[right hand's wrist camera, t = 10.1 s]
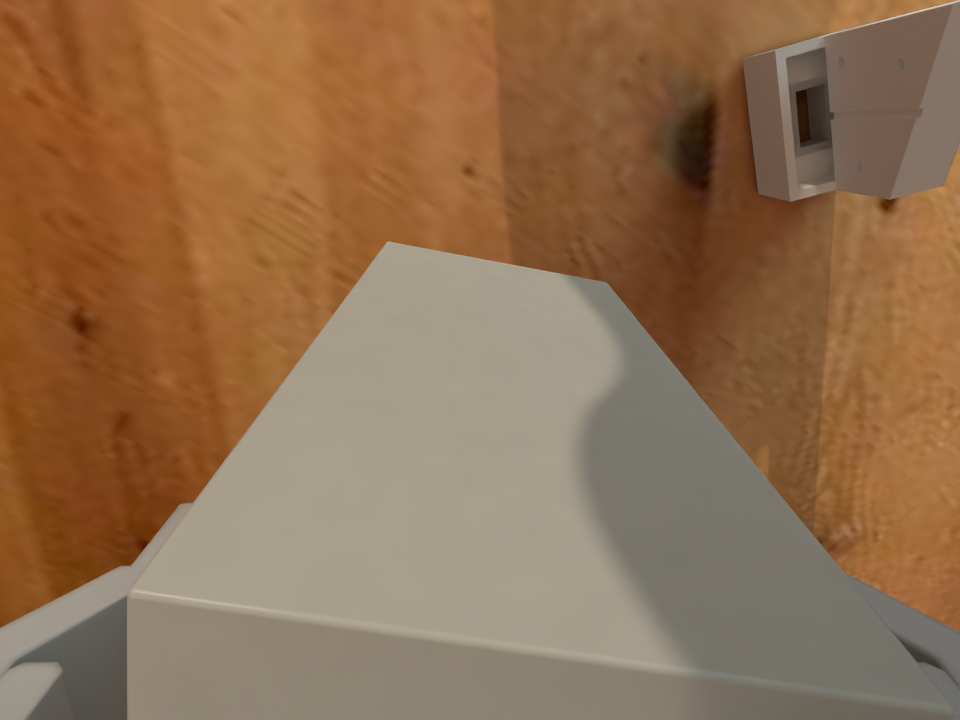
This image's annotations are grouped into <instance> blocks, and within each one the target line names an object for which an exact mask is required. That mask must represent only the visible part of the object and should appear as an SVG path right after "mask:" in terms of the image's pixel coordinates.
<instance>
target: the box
mask: <svg viewBox="0 0 960 720" xmlns="http://www.w3.org/2000/svg"><path fill="white" fill-rule="evenodd" d="M954 716H955V710H954V707H953V706H952V704H951V703H950V702H949V701H948V700H947V698H946V697H945V696H944V695H943V693H942V692H941V691H940V690H939V689H938V687H937V686H936V685H935V684H934V682H933V681H932V680H931V679H930V678H929V676H928V675H927V674H926V673H925V671H924V670H923V669H922V668H921V667H920V665H919V664H918V663H917V662H916V660H915V659H914V658H913V657H912V655H911V654H910V653H909V652H908V651H907V649H906V648H905V647H904V646H903V644H902V643H901V642H900V641H899V640H898V638H897V637H896V636H895V635H894V633H893V632H892V631H891V630H890V629H889V627H888V626H887V625H886V624H885V622H884V621H883V620H882V619H881V618H880V616H879V615H878V614H877V613H876V611H875V610H874V609H873V608H872V607H871V605H870V604H869V603H868V602H867V600H866V599H865V598H864V597H863V596H862V594H861V593H860V592H859V591H858V589H857V588H856V587H855V586H854V585H853V583H852V582H851V581H850V580H849V578H848V577H847V576H846V575H845V574H844V572H843V571H842V570H841V569H840V567H839V566H838V565H837V564H836V562H835V561H834V560H833V559H832V558H831V556H830V555H829V554H828V553H827V551H826V550H825V549H824V548H823V547H822V545H821V544H820V543H819V542H818V540H817V539H816V538H815V537H814V536H813V534H812V533H811V532H810V531H809V529H808V528H807V527H806V526H805V525H804V523H803V522H802V521H801V520H800V518H799V517H798V516H797V515H796V514H795V512H794V511H793V510H792V509H791V507H790V506H789V505H788V504H787V503H786V501H785V500H784V499H783V498H782V496H781V495H780V494H779V493H778V492H777V490H776V489H775V488H774V487H773V485H772V484H771V483H770V482H769V480H768V479H767V478H766V477H765V476H764V474H763V473H762V472H761V471H760V469H759V468H758V467H757V466H756V465H755V463H754V462H753V461H752V460H751V458H750V457H749V456H748V455H747V454H746V452H745V451H744V450H743V449H742V447H741V446H740V445H739V444H738V443H737V441H736V440H735V439H734V438H733V436H732V435H731V434H730V433H729V432H728V430H727V429H726V428H725V427H724V425H723V424H722V423H721V422H720V421H719V419H718V418H717V417H716V416H715V414H714V413H713V412H712V411H711V410H710V408H709V407H708V406H707V405H706V403H705V402H704V401H703V400H702V399H701V397H700V396H699V395H698V394H697V392H696V391H695V390H694V389H693V387H692V386H691V385H690V384H689V383H688V381H687V380H686V379H685V378H684V376H683V375H682V374H681V373H680V372H679V370H678V369H677V368H676V367H675V365H674V364H673V363H672V362H671V361H670V359H669V358H668V357H667V356H666V354H665V353H664V352H663V351H662V350H661V348H660V347H659V346H658V345H657V343H656V342H655V341H654V340H653V339H652V337H651V336H650V335H649V334H648V332H647V331H646V330H645V329H644V328H643V326H642V325H641V324H640V323H639V321H638V320H637V319H636V318H635V317H634V315H633V314H632V313H631V312H630V310H629V309H628V308H627V307H626V305H625V304H624V303H623V302H622V301H621V299H620V298H619V297H618V296H617V294H616V293H615V292H614V291H613V290H612V288H611V287H610V286H609V285H608V283H606V282H602V281H597V280H591V279H586V278H581V277H575V276H570V275H565V274H559V273H554V272H548V271H543V270H538V269H532V268H527V267H522V266H516V265H511V264H506V263H500V262H495V261H489V260H484V259H479V258H473V257H468V256H463V255H457V254H452V253H447V252H441V251H436V250H430V249H425V248H420V247H414V246H409V245H404V244H398V243H393V242H387V243H386V244H385V245H384V247H383V248H382V249H381V251H380V252H379V253H378V255H377V256H376V258H375V259H374V260H373V262H372V263H371V264H370V266H369V267H368V268H367V270H366V271H365V272H364V274H363V275H362V276H361V278H360V279H359V280H358V282H357V283H356V284H355V286H354V287H353V288H352V290H351V291H350V293H349V294H348V295H347V297H346V298H345V299H344V301H343V302H342V303H341V305H340V306H339V307H338V309H337V310H336V311H335V313H334V314H333V315H332V317H331V318H330V319H329V321H328V322H327V323H326V325H325V326H324V328H323V329H322V330H321V332H320V333H319V334H318V336H317V337H316V338H315V340H314V341H313V342H312V344H311V345H310V346H309V348H308V349H307V350H306V352H305V353H304V354H303V356H302V357H301V358H300V360H299V361H298V363H297V364H296V365H295V367H294V368H293V369H292V371H291V372H290V373H289V375H288V376H287V377H286V379H285V380H284V381H283V383H282V384H281V385H280V387H279V388H278V389H277V391H276V392H275V393H274V395H273V396H272V398H271V399H270V400H269V402H268V403H267V404H266V406H265V407H264V408H263V410H262V411H261V412H260V414H259V415H258V416H257V418H256V419H255V420H254V422H253V423H252V424H251V426H250V427H249V428H248V430H247V431H246V433H245V434H244V435H243V437H242V438H241V439H240V441H239V442H238V443H237V445H236V446H235V447H234V449H233V450H232V451H231V453H230V454H229V455H228V457H227V458H226V459H225V461H224V462H223V463H222V465H221V466H220V468H219V469H218V470H217V472H216V473H215V474H214V476H213V477H212V478H211V480H210V481H209V482H208V484H207V485H206V486H205V488H204V489H203V490H202V492H201V493H200V494H199V496H198V497H197V498H196V500H195V501H194V503H193V504H192V505H191V507H190V508H189V509H188V511H187V512H186V513H185V515H184V516H183V517H182V519H181V520H180V521H179V523H178V524H177V525H176V527H175V528H174V529H173V531H172V532H171V533H170V535H169V536H168V538H167V539H166V540H165V542H164V543H163V544H162V546H161V547H160V548H159V550H158V551H157V552H156V554H155V555H154V556H153V558H152V559H151V560H150V562H149V563H148V564H147V566H146V567H145V568H144V570H143V571H142V573H141V574H140V575H139V577H138V578H137V579H136V581H135V582H134V583H133V585H132V586H131V587H130V589H129V591H128V592H127V720H952V719H953V717H954Z"/></svg>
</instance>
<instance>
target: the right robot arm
mask: <svg viewBox="0 0 960 720" xmlns="http://www.w3.org/2000/svg"><path fill="white" fill-rule="evenodd" d="M193 503H194V502H187V503H183V504H180V505H179V506H178V507H177V508H176V510H175V511H174V512H173V513H172V515H171V516H170V517H169V518H168V520H167V521H166V522H165V524H164V525H163V526H162V527H161V529H160V530H159V531H158V532H157V534H156V535H155V536H154V537H153V539H152V540H151V541H150V542H149V544H148V545H147V546H146V547H145V549H144V550H143V551H142V552H141V554H140V555H139V556H138V557H137V559H136V560H135V561H134V562H133V564H132V565H131V566H120V567H118V568H116V569H114V570H112V571H110V572H108V573H106V574H104V575H102V576H100V577H98V578H96V579H94V580H92V581H90V582H88V583H87V584H85V585H83V586H81V587H79V588H77V589H75V590H73V591H71V592H69V593H67V594H65V595H63V596H61V597H59V598H57V599H55V600H54V601H52V602H50V603H48V604H46V605H44V606H42V607H40V608H38V609H36V610H34V611H32V612H30V613H28V614H26V615H24V616H22V617H21V618H19V619H17V620H15V621H13V622H11V623H9V624H7V625H5V626H3V627H1V628H0V720H127V592H128V591H129V589H130V587H131V586H132V585H133V583H134V582H135V581H136V579H137V578H138V577H139V575H140V574H141V573H142V571H143V570H144V568H145V567H146V566H147V564H148V563H149V562H150V560H151V559H152V558H153V556H154V555H155V554H156V552H157V551H158V550H159V548H160V547H161V546H162V544H163V543H164V542H165V540H166V539H167V538H168V536H169V535H170V533H171V532H172V531H173V529H174V528H175V527H176V525H177V524H178V523H179V521H180V520H181V519H182V517H183V516H184V515H185V513H186V512H187V511H188V509H189V508H190V507H191V505H192V504H193ZM844 574H845V575H846V576H847V577H848V578H849V580H850V581H851V582H852V583H853V585H854V586H855V587H856V588H857V589H858V591H859V592H860V593H861V594H862V596H863V597H864V598H865V599H866V600H867V602H868V603H869V604H870V605H871V607H872V608H873V609H874V610H875V611H876V613H877V614H878V615H879V616H880V618H881V619H882V620H883V621H884V622H885V624H886V625H887V626H888V627H889V629H890V630H891V631H892V632H893V633H894V635H895V636H896V637H897V638H898V640H899V641H900V642H901V643H902V644H903V646H904V647H905V648H906V649H907V651H908V652H909V653H910V654H911V655H912V657H913V658H914V659H915V660H916V662H917V663H918V664H919V665H920V667H921V668H922V669H923V670H924V671H925V673H926V674H927V675H928V676H929V678H930V679H931V680H932V681H933V682H934V684H935V685H936V686H937V687H938V689H939V690H940V691H941V692H942V693H943V695H944V696H945V697H946V698H947V700H948V701H949V702H950V703H951V704H952V706H953V707H954V710H955V716H954V717H953V719H952V720H960V632H958V631H956V630H954V629H952V628H950V627H948V626H946V625H944V624H942V623H941V622H939V621H937V620H935V619H933V618H931V617H929V616H927V615H925V614H923V613H921V612H919V611H918V610H916V609H914V608H912V607H910V606H908V605H906V604H904V603H902V602H900V601H898V600H896V599H895V598H893V597H891V596H889V595H887V594H885V593H883V592H881V591H879V590H877V589H875V588H873V587H872V586H870V585H868V584H866V583H864V582H862V581H860V580H858V579H856V578H854V577H852V576H850V575H849V574H847V573H845V572H844Z"/></svg>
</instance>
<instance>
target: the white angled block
mask: <svg viewBox="0 0 960 720" xmlns="http://www.w3.org/2000/svg"><path fill="white" fill-rule="evenodd" d="M743 67H744V76H745V84H746V93H747V101H748V110H749V119H750V127H751V136H752V145H753V153H754V162H755V171H756V179H757V188H758V194H760V195H764V196H769V197H773V198H777V199H781V200H785V201H789V202H791V201H795V200H799V199H803V198H807V197H810V196H814V195H818V194H822V193H826V192H829V191H833V190H840V191H845V192H851V193H856V194H862V195H868V196H873V197H879V198H884V199H893V198H897V197H901V196H905V195H909V194H913V193H916V192H920V191H924V190H928V189H932V188H936V187H939V186H943V185H944V182H945V180H946V177H947V175H948V172H949V170H950V167H951V165H952V162H953V160H954V157H955V154H956V152H957V149H958V147H959V144H960V0H958V1H954V2H951V3H947V4H943V5H939V6H935V7H931V8H927V9H924V10H920V11H916V12H912V13H908V14H904V15H900V16H897V17H893V18H889V19H885V20H881V21H877V22H873V23H870V24H866V25H862V26H858V27H854V28H850V29H847V30H843V31H839V32H835V33H831V34H828V35H824V36H821V37H817V38H814V39H810V40H807V41H803V42H800V43H796V44H792V45H789V46H785V47H782V48H778V49H775V50H771V51H768V52H764V53H761V54H757V55H754V56H750V57H747V58H743ZM804 89H806V92H807V103H808V115H809V126H810V138H811V140H809V141H805V142H801V143H800V137H799V126H798V115H797V104H796V93H795V92H797V91H801V90H804Z"/></svg>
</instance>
